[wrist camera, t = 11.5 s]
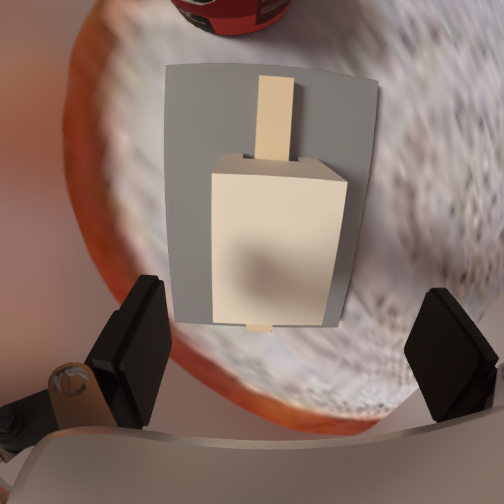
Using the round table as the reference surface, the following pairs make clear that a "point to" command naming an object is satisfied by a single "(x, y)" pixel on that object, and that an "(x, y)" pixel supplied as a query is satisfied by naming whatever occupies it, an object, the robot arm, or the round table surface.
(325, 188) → the cabinet block
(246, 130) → the mount board
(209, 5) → the canned food
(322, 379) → the round table surface
